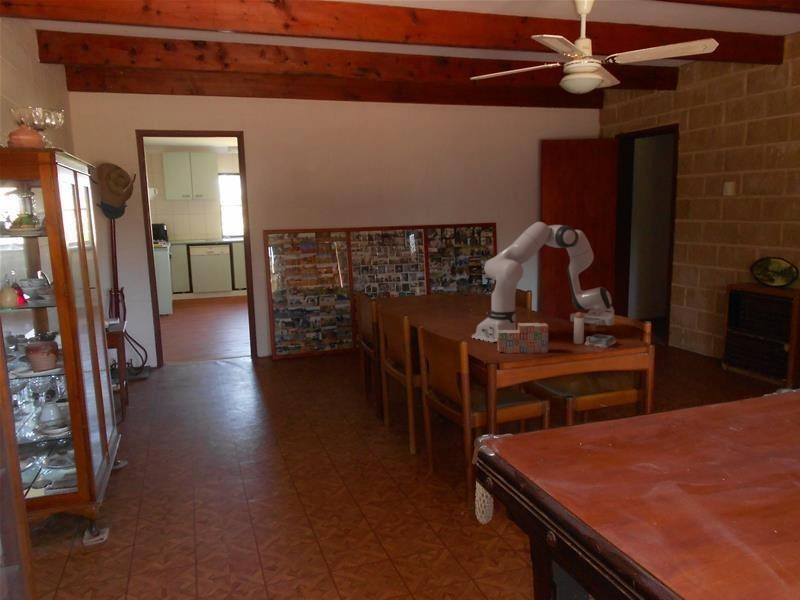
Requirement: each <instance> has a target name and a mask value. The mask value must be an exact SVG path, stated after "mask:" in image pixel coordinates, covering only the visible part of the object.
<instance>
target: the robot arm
mask: <svg viewBox="0 0 800 600" xmlns="http://www.w3.org/2000/svg"><path fill="white" fill-rule="evenodd" d="M543 246H546V247H548V248H549V247H552V248H556V249H561V248H563V249H566V251H567V255H568V256H569V263H568V265H567V278H568V282H569V287H570V292H571V296H572V297H571V300H572V306H573V307H574V308H575V309H576V310H578V312H581V313H582V314H583V317H584V324H589V325H591V326H592V327H601V326H608V327H609V326H614V324H615V309H614V307H613V298H612V294H611V292H610V291H609V290H608V289H607V288H606V287H604V286H599V287H595V288H590V289H587V290H582V289H581V283H580V279H579V275H580V274H581V272H583V271H585V270H586V269H588V268H589V267H590V266H591V264H592V263H593V261H594V259H595V257H594V251H593V249H592V247H591V244H590V242H589V240H588V238H587V236H586V234H585V233H584V232H583V231H582V230H580V229H574V228H573V227H572V226H569V225H565V224H564V225H562V224H546V223H545V222H542V221H537V222H535V223H533V224H532V225H530V226H529V227H528V228H526V229H525V231H523V232H522V233H521V234H520V235H519V236H518V237H517V238H516V239H515V240H514V241H513V243H511V244H510V245H509V246H508V247H506V248H505V249H504V250H502V251H501V252H499V253H498V254H497V255H495V256H493V257H492V258H489V259H488V260H486V262H485V264H484V267H483V268H484V269H483V270H484V273H485V275H486V276H488V278H490V279H492V280H493V281H496V282H495V288H494V290H493V291H492V293H491V304H490V305H491V309H490V310H488V311H487V312H486V315H487V317H486V318H485V319H484V320H482V321H481V322H480V323H478V325H477V326H476V329H475V330H476V331H475V333H473V334H472V335H471V337H472V338H471V339H473V338H475V339H474V340H478V339H480V340H479V341H483V340H484V342H488V341H489V342H488V343H493V342H497V337H498V330H517V327H516V321H517V319H516V318H517V314H516V313H517V312H516V292H517V287H518V284H519V282H520V281H521V279H522V278H523V276H524V268H523V266H522V265H523V264H525V263H527V262H529V260H530V259H532V257H534V256H535V254H537V252H538V251H539V250H540V249H541V248H542V247H543ZM587 310H588V312H587V313H586V312H585V311H587ZM576 313H577V312H574V313H573V312H572V313H571V314H570V316H569V317H570V319H569V320H570V322H571V323H574V317H575V314H576Z"/></svg>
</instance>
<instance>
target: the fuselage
mask: <svg viewBox="0 0 800 600" xmlns="http://www.w3.org/2000/svg"><path fill="white" fill-rule="evenodd" d="M575 313H576V314H575V317H574V322H573V344H576V345H583V344H584V341H585V340H584V338H585V334H584V333H585V331H584V330H585V323H584V317H583V314H582V313H583V312H582V311H577V312H575ZM582 343H583V344H582Z"/></svg>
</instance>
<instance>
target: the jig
mask: <svg viewBox="0 0 800 600" xmlns="http://www.w3.org/2000/svg"><path fill="white" fill-rule="evenodd" d="M585 340H586V341H585V342H584V345H585V346H589V345H593V346H592V347H597V346H599V347H598V348H604V349H605V348H606V349H607V348H609V347H611V346H613V345H614V344H616V343H617V340H616V339H615V336H614V335H607V334H601V333H600V334H599V333H595V334H593V335H591V336H586V339H585Z"/></svg>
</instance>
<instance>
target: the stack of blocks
mask: <svg viewBox="0 0 800 600" xmlns="http://www.w3.org/2000/svg"><path fill="white" fill-rule="evenodd" d="M496 344H497V351H499V352H504V353H503V354H536V353H537V354H547V353H546V352H548V351H549V325H548V323H546V322H545V323H544V322H542V323H541V322H532V323H531V322H530V323H529V322H525V323H521V322H518V323H517V329H516V330H498V337H497V343H496ZM499 352H498V353H499ZM540 352H541V353H540Z"/></svg>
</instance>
